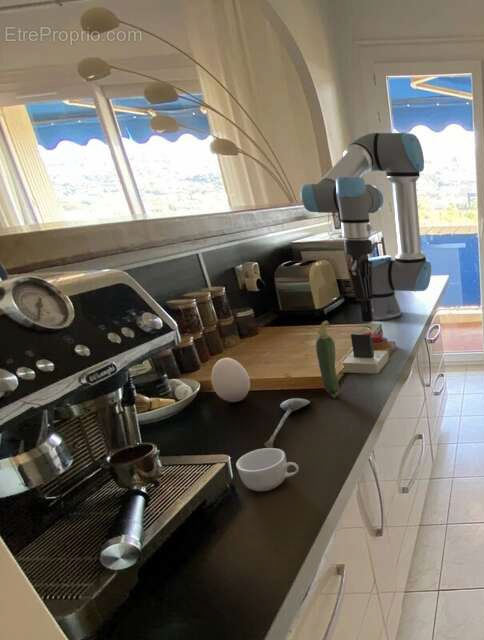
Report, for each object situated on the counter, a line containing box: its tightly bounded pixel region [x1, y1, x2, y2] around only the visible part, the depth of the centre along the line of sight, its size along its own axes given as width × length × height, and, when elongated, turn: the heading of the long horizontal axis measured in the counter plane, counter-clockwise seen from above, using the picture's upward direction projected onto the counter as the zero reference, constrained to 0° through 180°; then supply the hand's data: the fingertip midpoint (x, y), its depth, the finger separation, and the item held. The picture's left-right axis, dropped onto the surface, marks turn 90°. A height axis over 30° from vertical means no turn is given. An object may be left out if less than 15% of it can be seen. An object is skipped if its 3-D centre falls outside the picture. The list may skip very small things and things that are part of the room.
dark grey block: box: [350, 331, 374, 358], centre depth 131 cm, size 6×2×7 cm, turn 85°
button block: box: [373, 336, 397, 357], centre depth 144 cm, size 10×9×4 cm
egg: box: [210, 357, 251, 403], centre depth 109 cm, size 8×8×11 cm
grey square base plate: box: [339, 351, 390, 374], centre depth 133 cm, size 11×11×3 cm
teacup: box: [235, 447, 300, 492], centre depth 80 cm, size 10×8×5 cm
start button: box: [372, 333, 384, 343], centre depth 142 cm, size 4×4×2 cm
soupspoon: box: [263, 397, 311, 448], centre depth 101 cm, size 22×3×7 cm
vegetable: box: [315, 320, 340, 399], centre depth 111 cm, size 4×4×20 cm
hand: (367, 321), depth 134 cm, fingers closed
